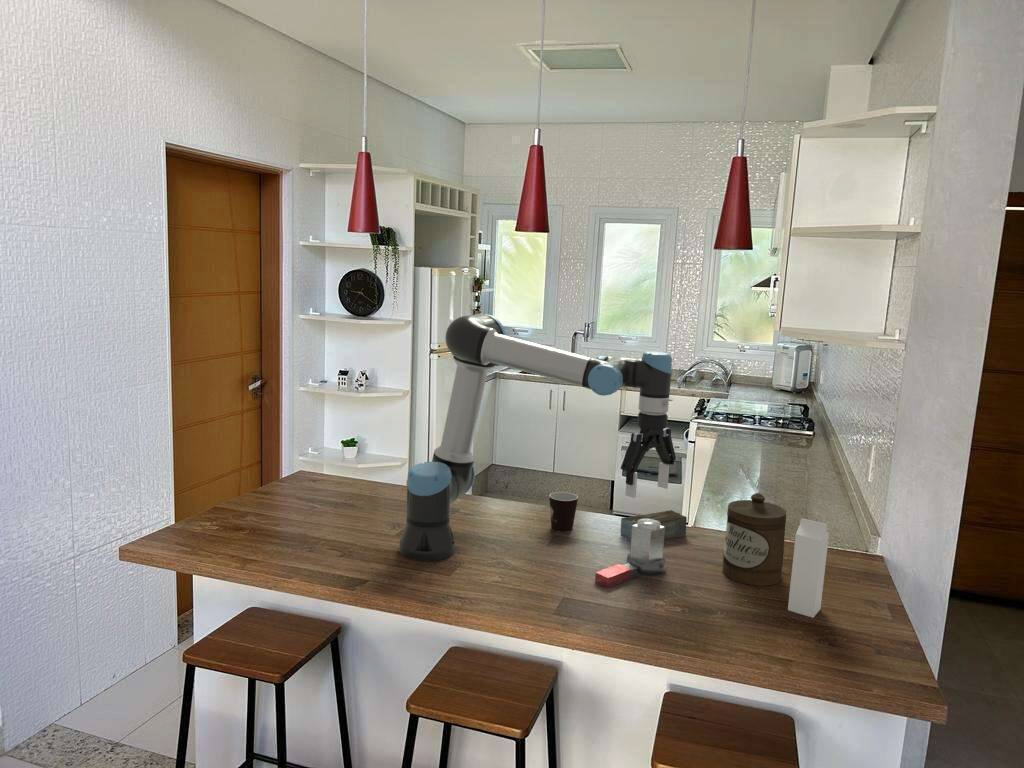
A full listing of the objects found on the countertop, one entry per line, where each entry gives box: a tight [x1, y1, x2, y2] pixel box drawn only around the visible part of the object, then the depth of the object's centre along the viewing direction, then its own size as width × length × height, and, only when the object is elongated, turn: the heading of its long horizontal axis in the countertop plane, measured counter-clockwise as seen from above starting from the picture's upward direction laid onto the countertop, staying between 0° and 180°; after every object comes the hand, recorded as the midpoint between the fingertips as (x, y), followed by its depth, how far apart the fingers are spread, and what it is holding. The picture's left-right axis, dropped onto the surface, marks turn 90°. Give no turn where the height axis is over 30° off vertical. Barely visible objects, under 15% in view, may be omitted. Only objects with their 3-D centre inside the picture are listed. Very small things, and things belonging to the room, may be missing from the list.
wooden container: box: [721, 492, 787, 587], centre depth 198 cm, size 15×15×22 cm
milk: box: [787, 518, 830, 618], centre depth 178 cm, size 6×6×22 cm
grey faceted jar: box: [629, 519, 665, 565], centre depth 200 cm, size 6×6×10 cm
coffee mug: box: [548, 491, 579, 533], centre depth 229 cm, size 12×9×10 cm
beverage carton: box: [620, 509, 688, 543], centre depth 225 cm, size 8×19×7 cm, turn 117°
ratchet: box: [594, 552, 667, 589], centre depth 196 cm, size 23×10×6 cm, turn 133°
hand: (646, 491), depth 199 cm, fingers open, 13 cm apart
